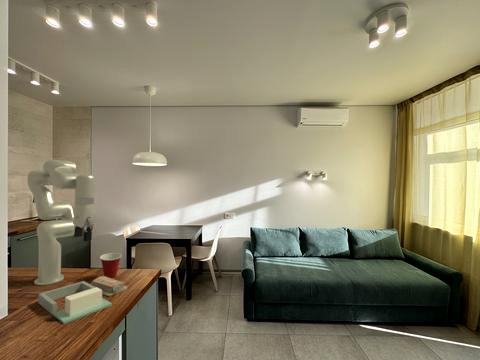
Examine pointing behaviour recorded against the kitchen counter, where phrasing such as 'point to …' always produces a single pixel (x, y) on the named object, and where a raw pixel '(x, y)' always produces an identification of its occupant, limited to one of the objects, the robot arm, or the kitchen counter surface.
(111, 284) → the packaged product
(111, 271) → the plastic cup
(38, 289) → the kitchen counter surface
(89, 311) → the pad
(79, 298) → the carton
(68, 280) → the kitchen counter surface
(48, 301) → the frame
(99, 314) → the kitchen counter surface
